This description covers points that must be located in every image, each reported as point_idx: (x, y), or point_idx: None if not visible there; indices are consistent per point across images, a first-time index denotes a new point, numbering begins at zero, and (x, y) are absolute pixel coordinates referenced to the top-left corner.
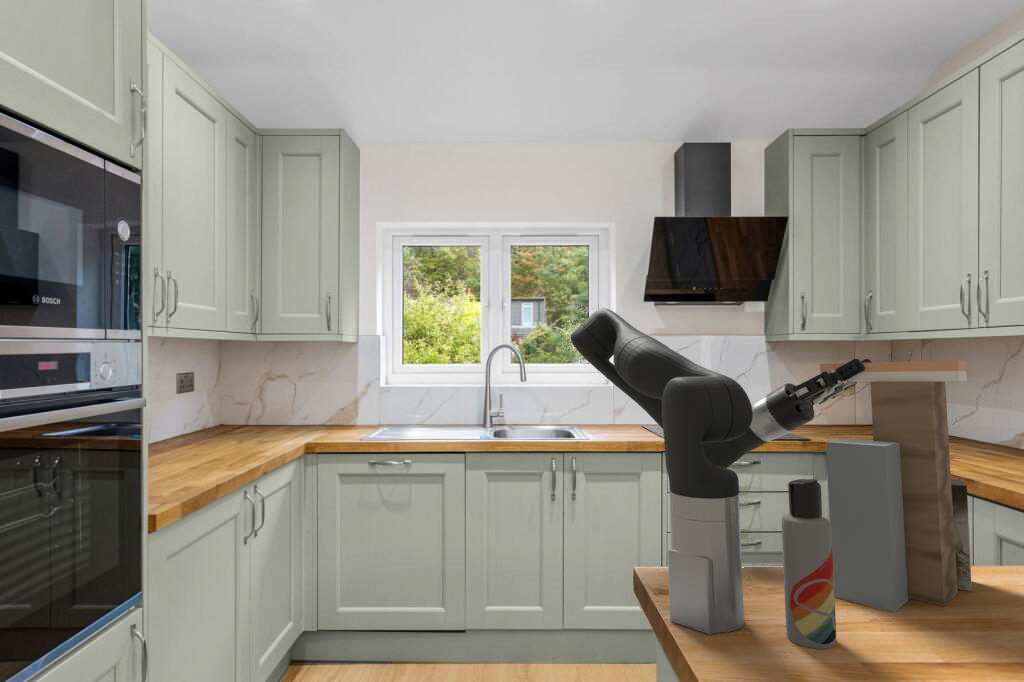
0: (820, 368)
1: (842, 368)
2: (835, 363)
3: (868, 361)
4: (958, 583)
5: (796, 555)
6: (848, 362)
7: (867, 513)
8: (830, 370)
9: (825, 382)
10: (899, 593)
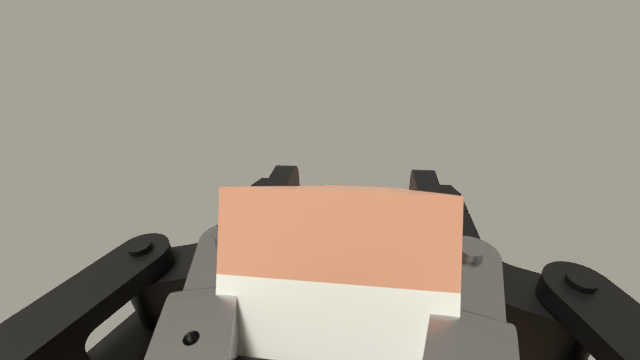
0: (461, 247)
1: (472, 225)
2: (432, 192)
3: (298, 178)
4: None
5: None
6: (440, 188)
7: None
8: (485, 249)
9: (587, 354)
10: None
